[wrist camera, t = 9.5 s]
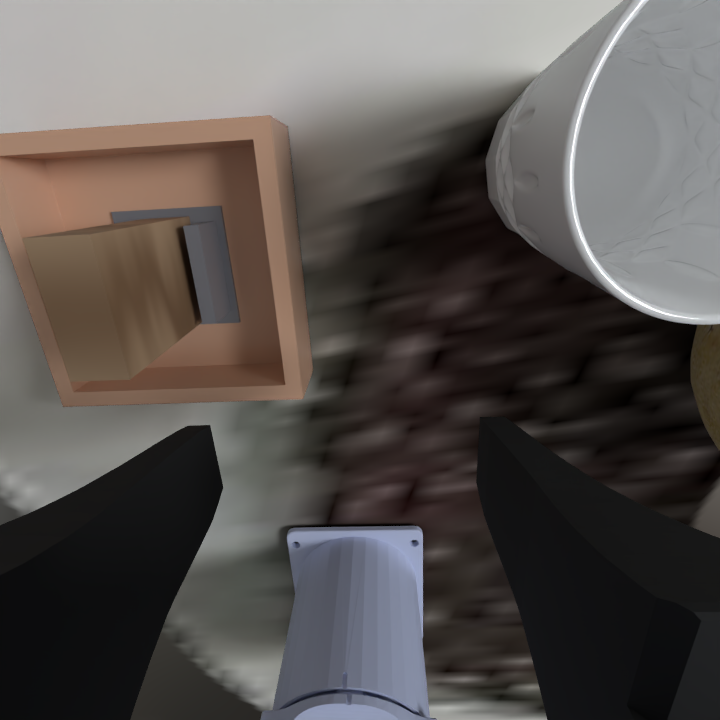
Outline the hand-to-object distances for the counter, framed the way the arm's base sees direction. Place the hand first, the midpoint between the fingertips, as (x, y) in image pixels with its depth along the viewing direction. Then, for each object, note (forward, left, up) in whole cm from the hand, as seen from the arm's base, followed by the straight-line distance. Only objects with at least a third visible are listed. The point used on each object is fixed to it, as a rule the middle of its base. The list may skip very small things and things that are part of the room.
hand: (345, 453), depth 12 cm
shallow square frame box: (+4, +8, -10) cm, 14 cm away
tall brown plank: (+4, +8, -10) cm, 13 cm away
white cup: (+7, -9, -11) cm, 16 cm away
